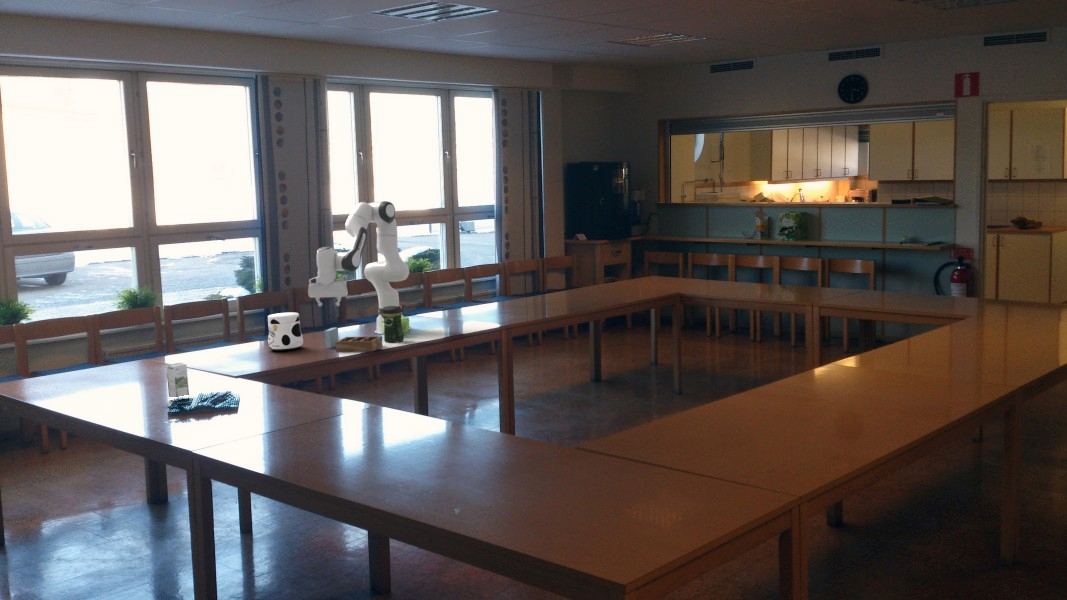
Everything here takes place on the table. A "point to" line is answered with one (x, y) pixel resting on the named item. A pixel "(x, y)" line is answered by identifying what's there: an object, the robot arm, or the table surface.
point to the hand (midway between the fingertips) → (329, 306)
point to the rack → (358, 344)
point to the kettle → (404, 325)
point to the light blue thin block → (331, 337)
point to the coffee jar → (392, 324)
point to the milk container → (284, 332)
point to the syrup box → (177, 380)
